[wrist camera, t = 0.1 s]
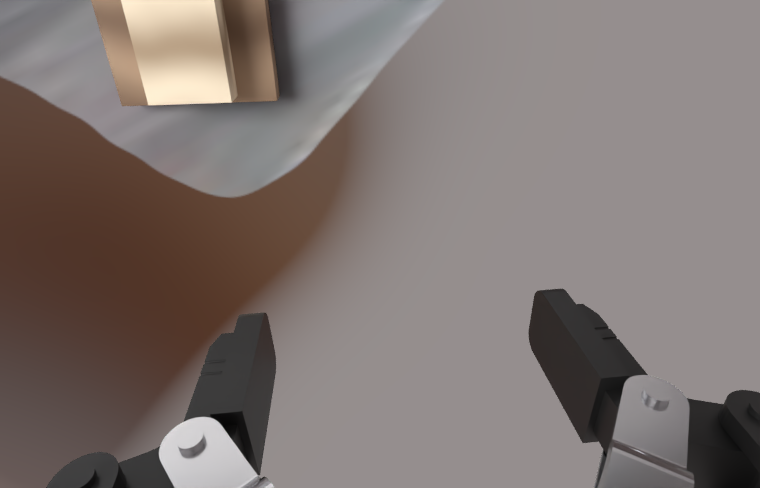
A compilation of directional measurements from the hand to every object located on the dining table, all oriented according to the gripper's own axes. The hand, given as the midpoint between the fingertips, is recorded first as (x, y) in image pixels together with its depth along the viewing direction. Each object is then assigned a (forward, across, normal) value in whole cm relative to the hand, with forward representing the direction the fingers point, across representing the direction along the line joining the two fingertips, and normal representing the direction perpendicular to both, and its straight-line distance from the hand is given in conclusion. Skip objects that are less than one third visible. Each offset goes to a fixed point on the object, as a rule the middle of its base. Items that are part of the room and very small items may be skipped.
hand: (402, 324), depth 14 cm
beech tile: (+27, +12, -6) cm, 31 cm away
